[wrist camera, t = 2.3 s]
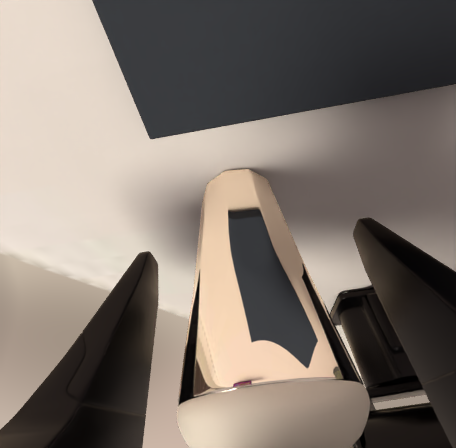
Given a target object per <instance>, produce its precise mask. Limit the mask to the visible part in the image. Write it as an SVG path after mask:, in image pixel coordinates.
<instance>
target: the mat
mask: <svg viewBox="0 0 456 448" xmlns="http://www.w3.org/2000/svg"><path fill="white" fill-rule="evenodd" d="M92 1H93V3H94V6H95V8H96V10H97V13H98V15H99V18H100V20H101V22H102V25H103V27H104V30H105V32H106V34H107V37H108V39H109V42H110V44H111V46H112V49H113V51H114V54H115V56H116V58H117V61H118V63H119V66H120V68H121V70H122V73H123V75H124V78H125V80H126V82H127V85H128V87H129V90H130V92H131V94H132V97H133V99H134V102H135V104H136V106H137V109H138V111H139V114H140V116H141V118H142V121H143V123H144V126H145V128H146V130H147V133H148V135H149V138H150V139H155V138H161V137H166V136H172V135H177V134H183V133H188V132H194V131H199V130H205V129H210V128H216V127H221V126H227V125H232V124H238V123H244V122H249V121H255V120H260V119H266V118H271V117H277V116H282V115H288V114H293V113H299V112H304V111H310V110H315V109H321V108H326V107H332V106H337V105H343V104H348V103H354V102H359V101H365V100H370V99H376V98H381V97H387V96H392V95H398V94H403V93H409V92H414V91H420V90H425V89H431V88H436V87H442V86H447V85H453V84H456V0H92Z"/></svg>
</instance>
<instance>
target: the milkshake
mask: <svg viewBox="0 0 456 448" xmlns="http://www.w3.org/2000/svg"><path fill="white" fill-rule="evenodd" d="M369 409H370V399H369V395H368V392H367V390H366V388H365V387H364V386H363V382H362V380H361V378H360V376H359V374H358V372H357V370H356V368H355V366H354V363H353V361H352V359H351V357H350V355H349V353H348V351H347V349H346V347H345V345H344V343H343V341H342V339H341V337H340V335H339V333H338V331H337V329H336V327H335V324H334V322H333V320H332V318H331V316H330V314H329V312H328V310H327V308H326V306H325V304H324V302H323V300H322V298H321V296H320V294H319V292H318V290H317V288H316V286H315V284H314V282H313V280H312V278H311V276H310V274H309V272H308V270H307V268H306V266H305V263H304V261H303V259H302V257H301V255H300V252H299V250H298V248H297V246H296V244H295V241H294V239H293V237H292V235H291V232H290V230H289V228H288V226H287V223H286V221H285V219H284V217H283V214H282V212H281V210H280V208H279V205H278V203H277V201H276V199H275V196H274V194H273V192H272V190H271V187H270V185H269V183H268V181H267V179H266V178H264V177H262V176H260V175H258V174H257V173H255V172H253V171H251V170H249V169H241V170H229V171H224V172H222V173H221V174H220V175H218V176H217V177H216V178H214V179H213V180H211V181H210V182H209V183H207V185H206V190H205V193H204V197H203V201H202V209H201V219H200V229H199V239H198V249H197V259H196V269H195V279H194V288H193V297H192V303H191V310H190V317H189V324H188V331H187V339H186V346H185V353H184V361H183V368H182V376H181V384H180V391H179V399H178V409H177V424H178V428H179V430H180V432H181V434H182V436H183V438H184V440H185V442H186V443H187V445H188V446H189V448H358V447H357V445H356V443H355V442H356V441H357V440H358V439H359V437H360V436H361V435H362V433H363V430H364V428H365V425H366V422H367V419H368V415H369Z"/></svg>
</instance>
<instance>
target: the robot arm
mask: <svg viewBox="0 0 456 448" xmlns="http://www.w3.org/2000/svg"><path fill="white" fill-rule="evenodd" d="M353 236H354V240H355V243H356V245H357V248H358V251H359V254H360V257H361V260H362V263H363V265H364V268H365V271H366V273H367V275H368V277H369V279H370V281H371V283H372V285H373V287H374V289H372V290H364V291H357V292H350V293H344V294H341V295H339V296H338V298H337V300H336V303H335V305H334V307H333V309H332V312H331V314H330V316H331V318H332V320H333V322H334V324H335V326H337V325H342V328H343V331H344V333H345V336H346V338H347V341H348V343H349V346H350V348H351V351H352V353H353V356H354V358H355V361H356V363H357V366H358V369H359V371H360V374H361V376H362V379H363V381H364V384H365V386H366V390H367V392H368V395H369V399H370V409H369V415H368V419H367V422H366V425H365V428H364V430H363V433H362V435H361V436H360V437H359V439H358V440H357V441H356V442H355V443H356V445H357V447H358V448H456V272H455V271H454V270H452V269H450V268H449V267H447V266H446V265H444V264H443V263H441V262H439V261H438V260H436V259H435V258H433V257H432V256H430V255H428V254H427V253H425V252H424V251H422V250H421V249H419V248H418V247H416V246H414V245H413V244H411V243H410V242H408V241H407V240H405V239H403V238H402V237H400V236H399V235H397V234H396V233H394V232H392V231H391V230H389V229H388V228H386V227H385V226H383V225H381V224H380V223H378V222H377V221H375V220H374V219H372V218H369V217H368V218H361V219H359V220H358V221H357V224H356V226H355V229H354V232H353ZM157 309H158V263H157V261H156V260H155V258H154V257H153V255H152V254H151V252H149V251H148V252H141V253H139V254H138V255H137V257H136V258H135V260H134V261H133V262H132V264H131V265H130V267H129V268H128V269H127V271H126V272H125V273H124V275H123V276H122V278H121V279H120V280H119V282H118V283H117V285H116V286H115V287H114V289H113V290H112V291H111V293H110V294H109V296H108V297H107V298H106V300H105V301H104V303H103V304H102V305H101V307H100V308H99V309H98V311H97V312H96V314H95V315H94V317H93V318H92V319H91V321H90V322H89V323H88V325H87V326H86V328H85V329H84V330H83V333H81V334H80V336H79V337H78V338H77V340H76V341H75V343H74V344H73V345H72V347H71V348H70V349H69V351H68V352H67V353H66V355H65V356H64V357H63V359H62V360H61V361H60V362H59V363H58V365H57V366H56V367H55V368H54V370H53V371H52V372H51V373H50V375H49V376H48V377H47V378H46V379H45V381H44V382H43V383H42V384H41V385H40V386H39V388H38V389H37V390H36V391H35V392H34V394H33V395H32V396H31V397H30V399H29V400H28V401H27V402H26V403H25V404H24V406H23V407H22V408H21V409H20V410H19V411H18V413H17V414H16V415H15V416H14V417H13V418H12V419H11V420H10V421H9V422H8V423H7V424H6V425H5V426H4V427H3V428H2V429H1V430H0V448H142V445H143V436H144V426H145V417H146V415H145V414H146V408H147V398H148V390H149V381H150V371H151V361H152V352H153V345H154V336H155V326H156V318H157ZM421 395H427V397H428V399H429V401H430V402H429V403H422V404H415V405H408V406H402V407H394V408H387V409H380V410H376V409H375V407H374V405H373V403H376V402H382V401H389V400H396V399H401V398H408V397H415V396H421Z"/></svg>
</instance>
